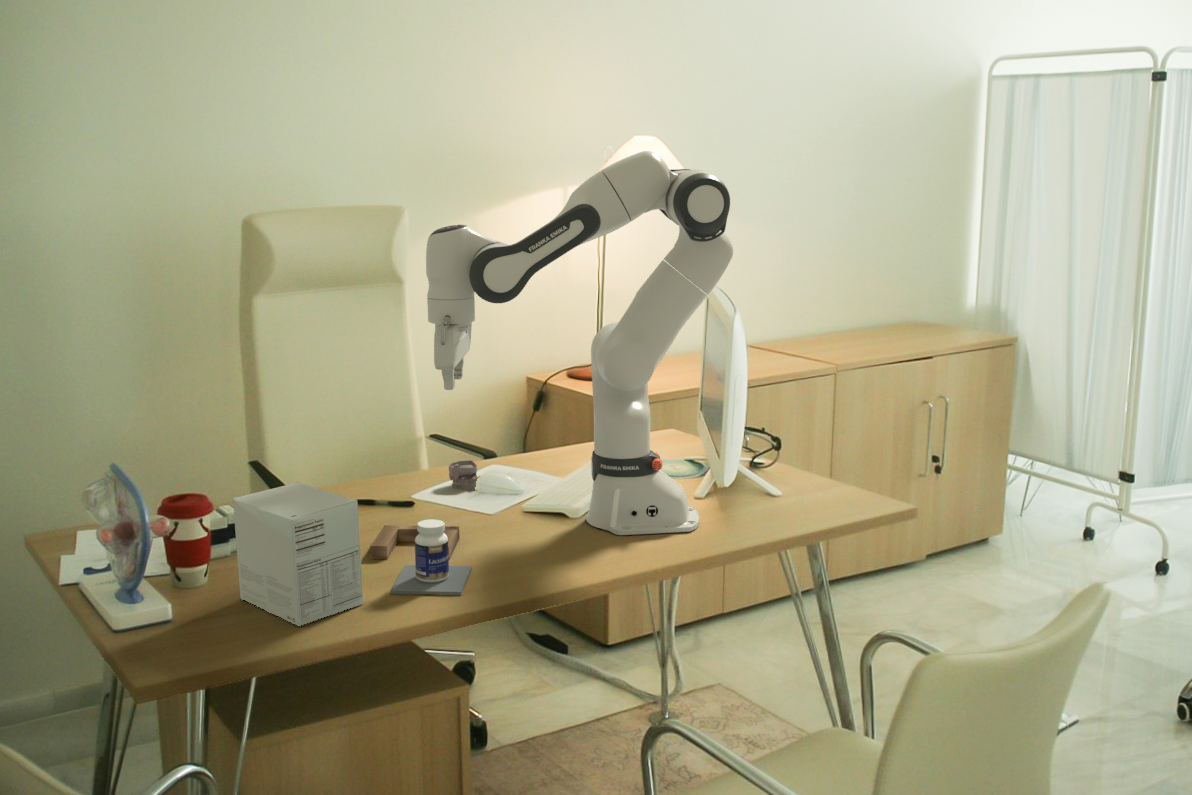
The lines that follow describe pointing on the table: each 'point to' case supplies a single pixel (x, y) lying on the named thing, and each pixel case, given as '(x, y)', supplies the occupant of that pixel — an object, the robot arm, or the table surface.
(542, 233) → the robot arm
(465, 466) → the dental mold
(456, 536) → the holder
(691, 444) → the table surface
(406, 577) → the mat
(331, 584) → the supplement box
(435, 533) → the pill bottle
